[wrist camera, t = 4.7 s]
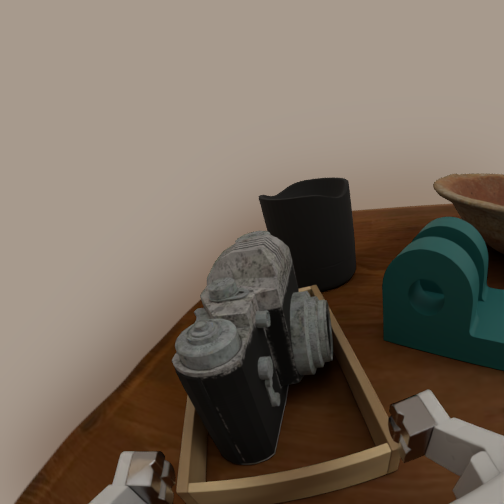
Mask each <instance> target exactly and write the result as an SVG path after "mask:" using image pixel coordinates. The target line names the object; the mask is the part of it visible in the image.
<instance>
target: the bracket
mask: <svg viewBox="0 0 504 504" xmlns="http://www.w3.org/2000/svg"><path fill="white" fill-rule="evenodd" d="M487 272H488V250H487V247H486V244H485V241H484V239H483V237H482V236H481V234H480V233H479V232H478V231H477V229H476V228H474V227H473V226H472V225H471V224H470V223H468V222H466V221H464V220H462V219H459V218H455V217H442V218H438V219H435V220H433V221H431V222H430V223H429V224H427V225H426V226H425V227H424V228H423V229H422V230H421V231H420V233H419V234H418V235H417V236H416V237H415V238H414V239H413V241H412V242H411V243H410V244H409V245H408V246H407V247H405V248H404V250H403V251H402V252H401V253H400V254H399V255H398V256H397V257H396V258H395V259H394V260H393V261H392V262H391V263H390V265H389V266H388V268H387V270H386V272H385V274H384V278H383V285H382V290H383V325H384V340H385V341H389V342H392V343H396V344H400V345H403V346H407V347H411V348H414V349H418V350H422V351H426V352H429V353H433V354H437V355H441V356H445V357H449V358H453V359H457V360H461V361H465V362H469V363H473V364H477V365H482V366H486V367H490V368H494V369H499V370H503V371H504V290H500V289H494V288H489V287H488V286H487V283H486V282H487Z"/></svg>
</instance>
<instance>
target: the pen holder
mask: <svg viewBox="0 0 504 504" xmlns="http://www.w3.org/2000/svg"><path fill="white" fill-rule="evenodd" d="M259 200H260V204H261V208H262V212H263V216H264V219H265V223H266V227H267V231H268V232H270V234H271V235H272V236H274V237H277V238H278V239H279V240H281V241H282V242H283V243H284V244H286V245H287V246H288V247H289V250H290V254H291V258H292V262H293V266H294V271H295V276H296V280H297V285H298V289H300V288H304V287H308V286H312V285H317V287H318V289H319V290H320V291H324V290H329V289H332V288H335V287H338V286H340V285H342V284H344V283H345V282H347V281H348V280H349V279H350V278H351V277H352V275H353V274H354V272H355V270H356V257H355V241H354V229H353V218H352V209H351V200H350V191H349V184H348V180H346V179H343V178H320V179H311V180H304V181H300V182H297V183H294V184H292V185H290V186H289V187H287V188H286V189H285V190H283V191H282V192H280V193H279V194H277V195H275V196H266V195H261V196H259Z"/></svg>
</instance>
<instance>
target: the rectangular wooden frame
mask: <svg viewBox="0 0 504 504" xmlns="http://www.w3.org/2000/svg"><path fill="white" fill-rule="evenodd" d="M298 290H299V292H303V291H308V293H309V294H310V296H311V297H314V296H317V297H318V299H319V300H324V301H325V299H324V297H323V296H322V294H321V292H320V290H319V289H318V287H317V285H312V286H308V287H304V288H300V289H298ZM328 307H329V306H328ZM329 312H330V319H331V327H332V339H333V351H334V354H335V356H336V358H337V360H338V362H339V364H340V367H341V369H342V371H343V373H344V375H345V378H346V380H347V382H348V384H349V387H350V389H351V391H352V393H353V395H354V398H355V400H356V402H357V404H358V407H359V409H360V411H361V414H362V416H363V418H364V420H365V423H366V425H367V427H368V430H369V432H370V434H371V437H372V439H373V441H374V444H375V446H376V447H373V448H370V449H367V450H364V451H361V452H358V453H355V454H352V455H348V456H345V457H342V458H338V459H335V460H331V461H327V462H323V463H319V464H315V465H311V466H307V467H303V468H298V469H293V470H289V471H284V472H278V473H273V474H267V475H261V476H255V477H248V478H240V479H232V480H223V481H213V482H206V457H207V435H208V431H207V429H206V427H205V425H204V424H203V422H202V420H201V418H200V417H199V415H198V413H197V411H196V409H195V407H194V406H193V404H192V402H191V400H190V398H189V396H188V397H187V405H186V412H185V420H184V428H183V435H182V444H181V452H180V461H179V470H178V479H177V488H176V493H177V494H178V495H179V496H180V497H181V498H182V499H183V500H184V501H185V503H186V504H275V503H281V502H286V501H291V500H297V499H301V498H306V497H311V496H315V495H319V494H323V493H327V492H331V491H335V490H338V489H342V488H346V487H349V486H352V485H356V484H359V483H362V482H365V481H368V480H371V479H374V478H377V477H380V476H383V475H385V474H387V473H391V472H393V471H396V470H397V469H398V465H399V461H400V457H401V456H400V454H399V452H398V443H396V442H394V441H393V440H392V437H391V435H390V432H389V427H388V419H389V418H388V416H387V414H386V412H385V410H384V408H383V406H382V404H381V402H380V400H379V398H378V396H377V394H376V393H375V391H374V389H373V387H372V385H371V383H370V381H369V379H368V377H367V376H366V374H365V372H364V370H363V368H362V366H361V364H360V362H359V361H358V359H357V357H356V355H355V353H354V351H353V350H352V348H351V346H350V344H349V342H348V340H347V339H346V337H345V335H344V333H343V331H342V330H341V328H340V326H339V324H338V322H337V321H336V319H335V317H334V315H333V313H332V312H331V310H330V308H329Z"/></svg>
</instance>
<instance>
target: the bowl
mask: <svg viewBox="0 0 504 504" xmlns="http://www.w3.org/2000/svg"><path fill="white" fill-rule="evenodd" d="M433 187H434V189H435V190H436V192H437V193H438V194H439V195H440V196H442V197H443V198H445V199H447V200H449V201H451V202H452V203H453V205H454V206H455V208H456V210H457V211H458V213H459V215H460V216H461V218H462V220H464V221H466V222H468V223H470V224H471V225H472V226H473V227H474V228H476V229H477V231H478V232H479V233H480V234H481V236H482V237H483V239H484V241H485V242H486V243H487V244H488V245H489V246H491V247H492V248H493V249H495V250H496V251H498V252H500V253H502V254H503V255H504V175H500V174H461V175H458V174H452V175H449V176H446V177H444V178H441V179H438V180H436V182H434V184H433Z"/></svg>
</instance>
